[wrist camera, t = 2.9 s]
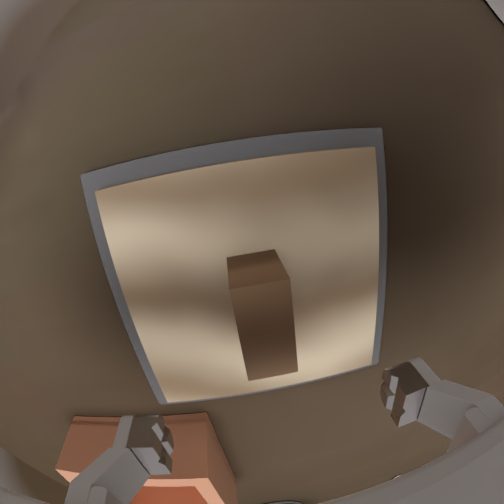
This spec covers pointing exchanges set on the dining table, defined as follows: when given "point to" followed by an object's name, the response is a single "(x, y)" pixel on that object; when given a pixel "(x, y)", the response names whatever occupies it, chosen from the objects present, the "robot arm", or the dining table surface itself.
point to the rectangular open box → (184, 456)
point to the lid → (250, 269)
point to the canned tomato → (285, 502)
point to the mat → (220, 155)
